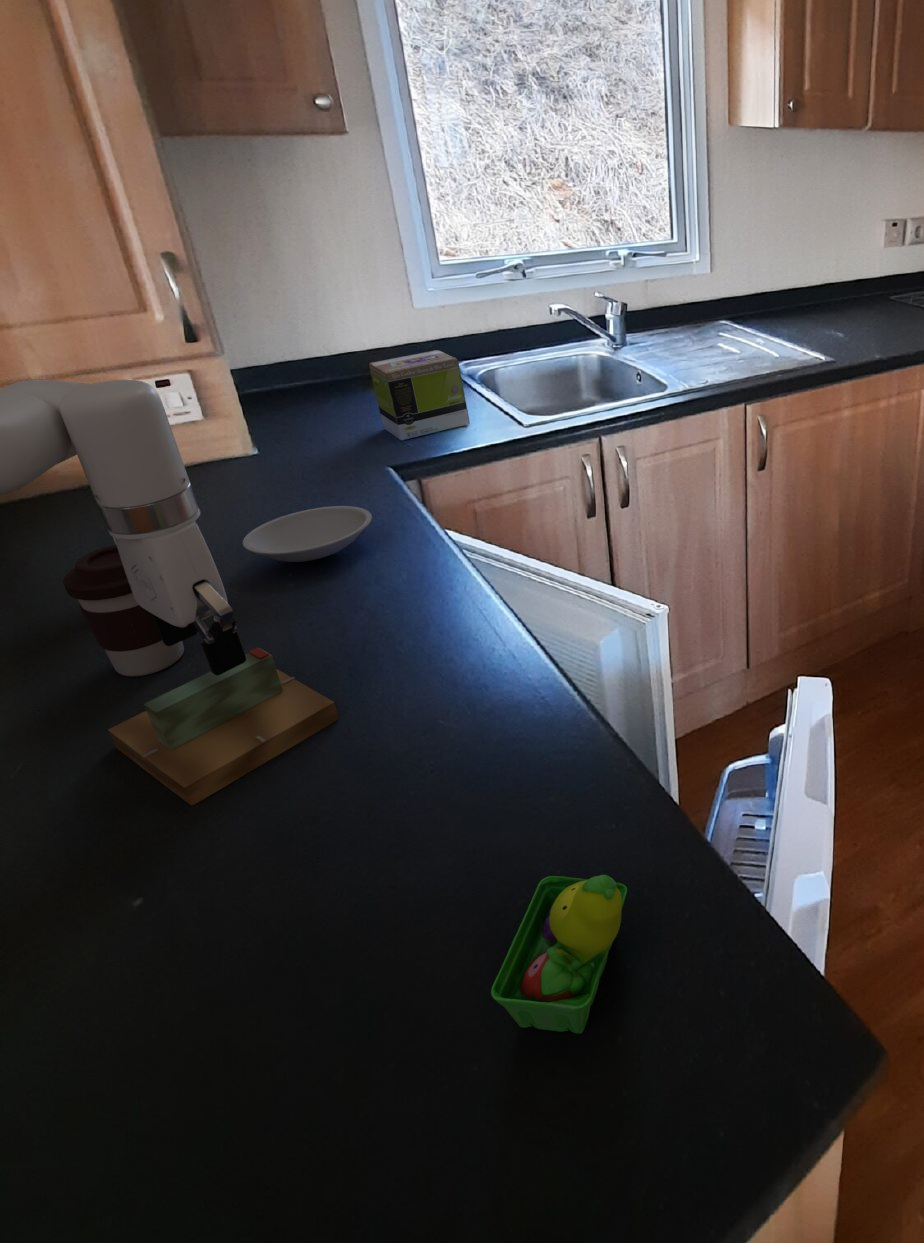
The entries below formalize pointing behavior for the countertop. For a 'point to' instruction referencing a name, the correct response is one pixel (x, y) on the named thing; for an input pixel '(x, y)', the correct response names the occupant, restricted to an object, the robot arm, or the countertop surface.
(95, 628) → the coffee cup
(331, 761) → the countertop surface
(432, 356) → the tea box
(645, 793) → the countertop surface
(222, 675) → the green rectangular block
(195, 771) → the base
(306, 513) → the dish
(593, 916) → the fruit basket
